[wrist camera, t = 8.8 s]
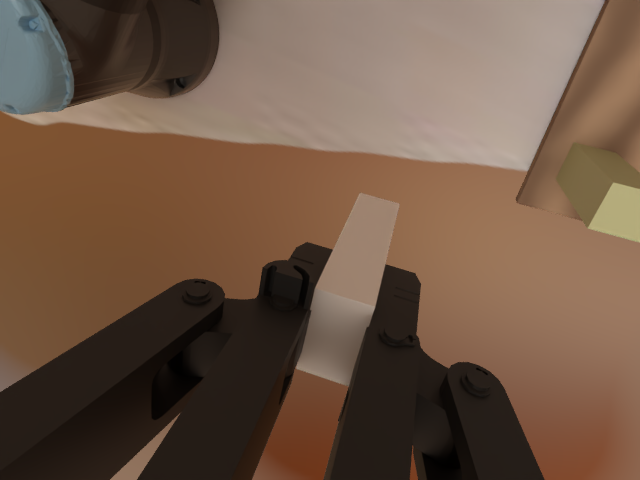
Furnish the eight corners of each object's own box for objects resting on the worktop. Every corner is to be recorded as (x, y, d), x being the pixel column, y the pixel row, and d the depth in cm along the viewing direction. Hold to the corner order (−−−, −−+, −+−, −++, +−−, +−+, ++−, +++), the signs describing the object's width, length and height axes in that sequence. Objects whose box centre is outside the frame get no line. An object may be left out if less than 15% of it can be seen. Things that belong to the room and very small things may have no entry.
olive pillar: (555, 179, 46) (587, 228, 36) (573, 142, 44) (613, 182, 34) (595, 189, 45) (639, 242, 35) (615, 152, 44) (668, 196, 33)
